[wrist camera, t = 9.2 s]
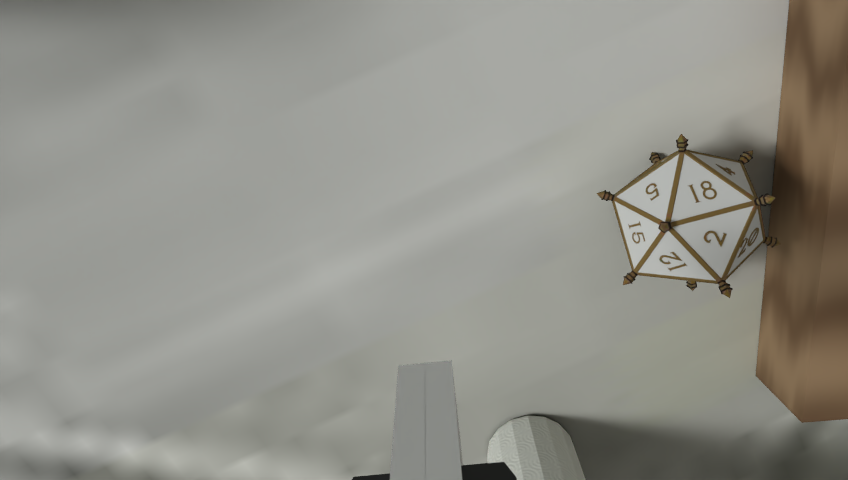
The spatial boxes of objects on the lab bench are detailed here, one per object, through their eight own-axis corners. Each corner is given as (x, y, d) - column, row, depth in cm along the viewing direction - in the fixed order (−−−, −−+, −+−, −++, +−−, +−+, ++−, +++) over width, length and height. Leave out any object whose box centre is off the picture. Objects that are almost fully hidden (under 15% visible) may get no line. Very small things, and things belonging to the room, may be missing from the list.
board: (794, -56, 30) (863, -76, 25) (853, -63, 29) (934, -84, 25) (755, 375, 38) (801, 422, 33) (801, 371, 38) (854, 418, 33)
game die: (652, 157, 37) (805, 100, 28) (689, 282, 37) (855, 263, 28) (546, 180, 33) (684, 122, 24) (586, 319, 33) (741, 312, 24)
